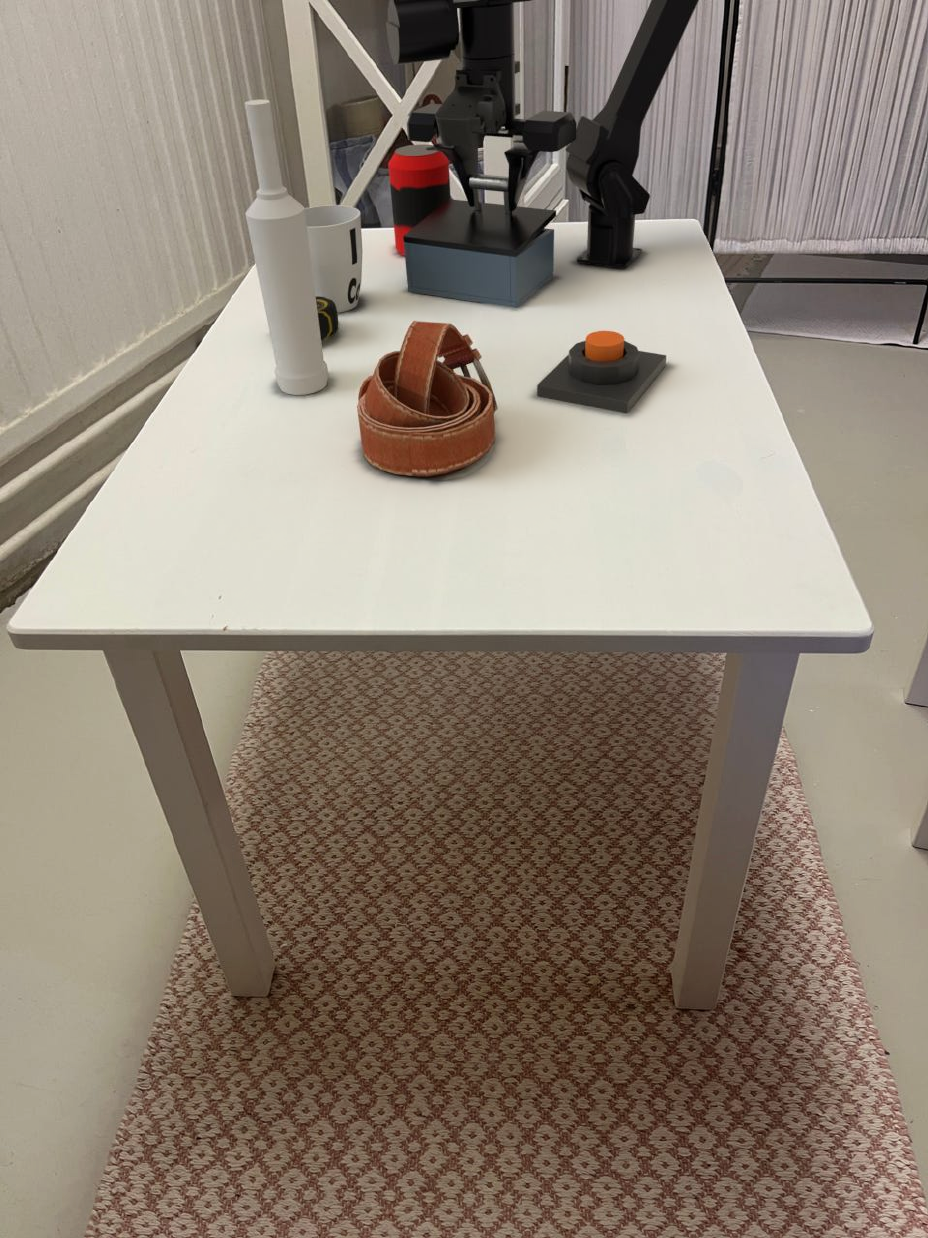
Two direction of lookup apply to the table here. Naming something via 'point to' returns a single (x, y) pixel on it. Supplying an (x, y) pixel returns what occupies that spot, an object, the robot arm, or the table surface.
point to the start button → (604, 346)
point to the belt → (427, 405)
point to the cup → (335, 253)
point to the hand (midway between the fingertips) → (492, 207)
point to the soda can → (416, 186)
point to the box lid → (481, 222)
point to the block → (602, 378)
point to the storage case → (481, 272)
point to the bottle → (283, 265)
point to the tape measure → (327, 317)
